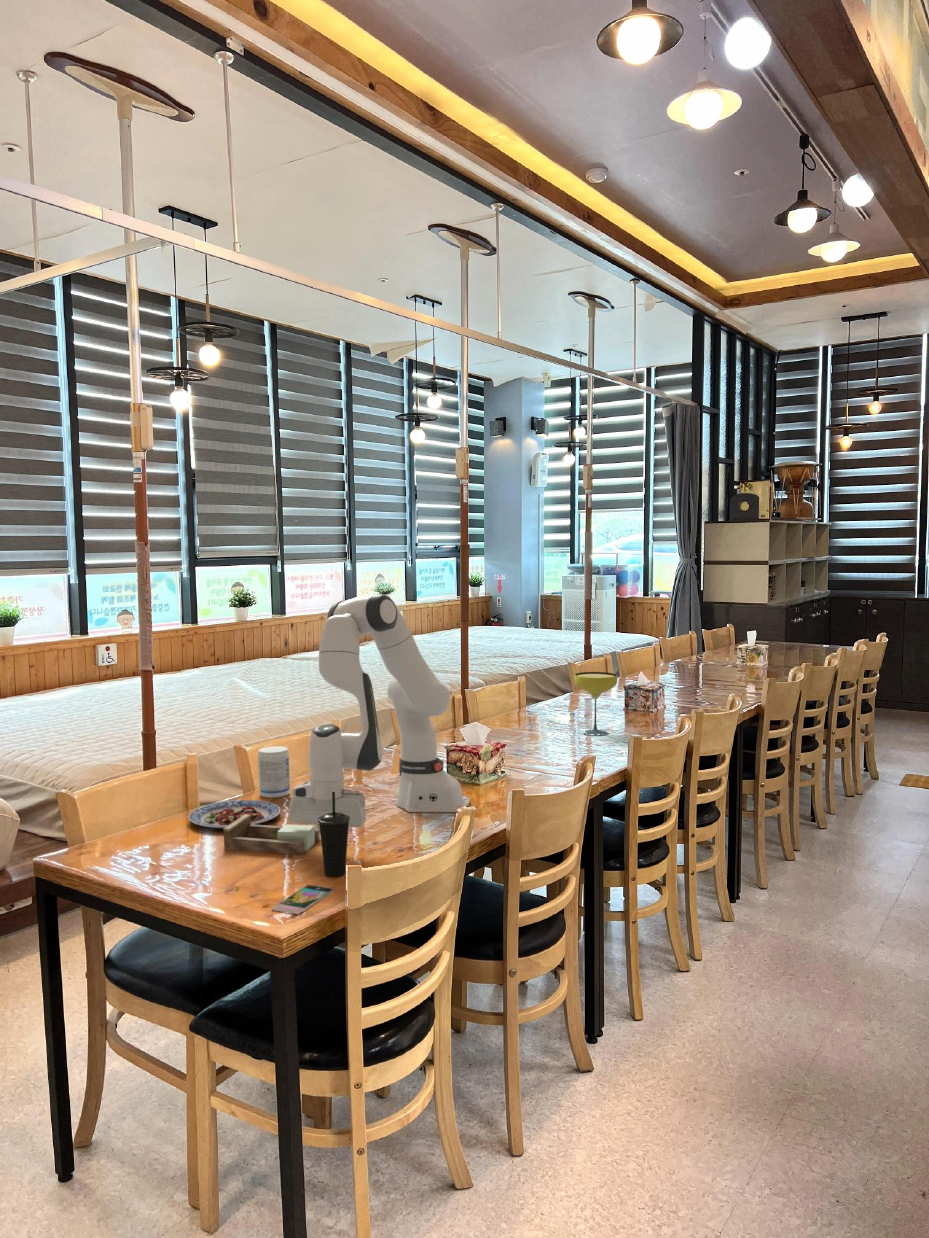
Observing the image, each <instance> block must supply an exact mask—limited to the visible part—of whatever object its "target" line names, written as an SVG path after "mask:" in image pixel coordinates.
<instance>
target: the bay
mask: <svg viewBox="0 0 929 1238" xmlns="http://www.w3.org/2000/svg"><path fill="white" fill-rule="evenodd" d="M283 826H284V825H282V826H281V825H280V826H279V825H268V824H267V825H265V824H264V825H263V824H251V815H247V814H245V815H244V816H242V817H241V818H239V819H237V820H236V821H234V822H233V823H231V824H230V825H228V826H226V827H225V828H222V829H223V847H224V848H223V849H224V850H228V851H240V852H241V851H242V852H252V853H253V852H255V853H265V854H266V853H267V854H278V855H279V854H280V855H289V856H290V855H292V856H293V855H294V856H302V855H304V852H305V851H304V843H303V842H297V841H284V840H278V839H277V832H278V831H279V830H280V829H281V828H282V827H283ZM314 832H315V843H318V842H319V841H321V838H320V833H319V831H318V829H317V828H314Z"/></svg>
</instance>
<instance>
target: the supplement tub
mask: <svg viewBox="0 0 929 1238" xmlns="http://www.w3.org/2000/svg"><path fill="white" fill-rule="evenodd" d="M257 759H258V760H257V761H258V763H257V764H258V768H257V769H258V788H259V789H258V791H259V792H258V793H259V795H260V797H263V798H266V799H274V798H275V799H276V798H282V797H285V796H287V795H289V794H290V792H291V788H290V787H291V783H290V754H289V748H288V747H286V746H279V745H277V746H267V747H261V748H259V749H258V756H257Z"/></svg>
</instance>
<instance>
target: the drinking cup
mask: <svg viewBox="0 0 929 1238" xmlns="http://www.w3.org/2000/svg"><path fill="white" fill-rule="evenodd" d="M349 821H350V817H349V816H348V815H346V814H343V813H339V812H335V792H332V812H331V813H327V814H325V815H323V816H320V817H319V818H318V822H319V827H320V833H319V837H320V843H321V851H322V861H323V869H324V876H325V877H328V878H339V877H343V876H344V875H345V874H346V867H347V866H346V864H347V853H348V852H347V849H348V838H349V827H348V826H349ZM345 866H346V867H345ZM344 873H345V874H344Z"/></svg>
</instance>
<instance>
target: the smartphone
mask: <svg viewBox="0 0 929 1238" xmlns="http://www.w3.org/2000/svg"><path fill="white" fill-rule="evenodd" d="M333 890H334V891H335V888H332V887H328V886H327V887H326V886H320V885H314V884H307V885H305V886H304V887H302V888H300V889H299V890H297V891H296V892H295V893H293V894H291V895H290V896H288V897H287V898H285V899H283V900H282V901H280V902H279V903H277V904H276V905H275V906H273V907H271V911H272V910H274V911H273V912H277V911H280V912H279V913H283V912H288V913H289V912H290V913H295V914H300V913H301V912H303V911H304V910H305V909H307V908H309V907H310V906H312V905H313V904H315V903H316V902H317V903H318V901H319V902H320V901H321V900H322V899H324V898H326V897H327V896H328V895H330V894H331V893H333V892H334V891H333ZM325 896H326V897H325ZM317 903H316V904H317ZM316 904H315V905H316ZM313 906H314V905H313ZM313 906H312V907H313ZM310 908H311V907H310ZM310 908H309V909H310ZM303 909H304V910H303ZM288 913H287V914H288ZM303 913H304V912H303ZM300 915H301V914H300Z"/></svg>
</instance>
